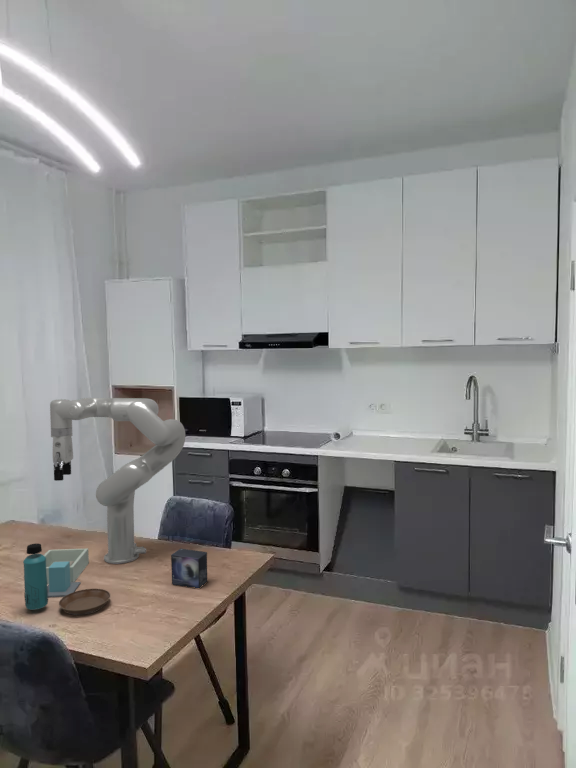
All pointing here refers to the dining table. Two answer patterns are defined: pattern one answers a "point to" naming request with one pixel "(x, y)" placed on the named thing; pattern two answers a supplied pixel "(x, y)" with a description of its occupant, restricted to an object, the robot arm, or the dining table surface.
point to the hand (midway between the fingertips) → (62, 477)
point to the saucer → (84, 601)
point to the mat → (71, 589)
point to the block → (59, 576)
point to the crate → (75, 556)
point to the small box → (189, 568)
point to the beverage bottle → (35, 578)
